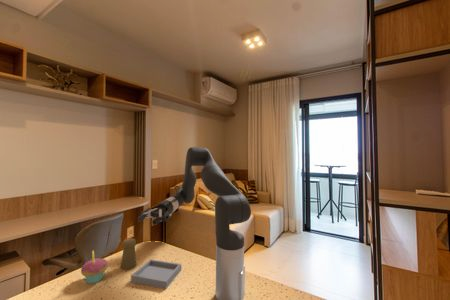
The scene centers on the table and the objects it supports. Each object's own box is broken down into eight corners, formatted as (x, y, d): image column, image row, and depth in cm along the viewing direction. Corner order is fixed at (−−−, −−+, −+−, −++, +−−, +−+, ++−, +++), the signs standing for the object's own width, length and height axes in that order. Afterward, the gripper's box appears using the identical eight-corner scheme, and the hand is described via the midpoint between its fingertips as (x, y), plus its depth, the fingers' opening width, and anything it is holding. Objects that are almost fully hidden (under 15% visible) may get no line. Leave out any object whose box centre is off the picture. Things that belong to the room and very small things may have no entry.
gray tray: (181, 270, 86) (181, 263, 86) (166, 289, 74) (166, 281, 74) (150, 265, 89) (150, 259, 89) (131, 282, 77) (131, 275, 77)
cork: (130, 271, 84) (131, 243, 84) (117, 269, 86) (117, 241, 86) (139, 263, 90) (140, 237, 90) (126, 261, 92) (127, 235, 92)
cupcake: (104, 284, 76) (104, 250, 76) (76, 288, 74) (76, 253, 74) (110, 271, 84) (110, 240, 84) (85, 274, 82) (85, 243, 82)
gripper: (156, 198, 112) (132, 211, 98) (179, 201, 107) (157, 216, 92) (157, 211, 114) (134, 226, 99) (180, 215, 108) (159, 232, 93)
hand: (145, 221), depth 95 cm, fingers open, 8 cm apart
